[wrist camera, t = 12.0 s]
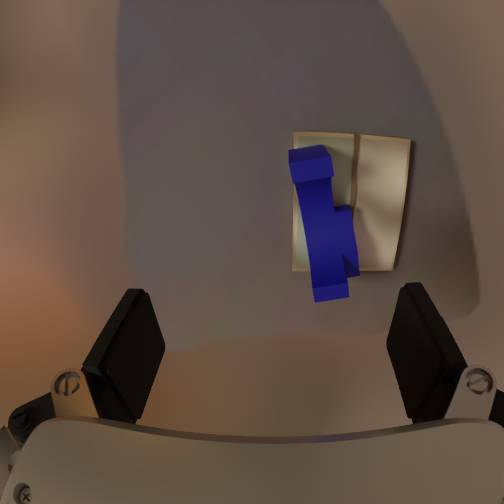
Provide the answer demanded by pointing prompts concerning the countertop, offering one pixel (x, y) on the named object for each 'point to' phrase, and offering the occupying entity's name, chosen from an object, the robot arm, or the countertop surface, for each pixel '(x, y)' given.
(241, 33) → the countertop surface
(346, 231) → the cable clip
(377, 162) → the board
